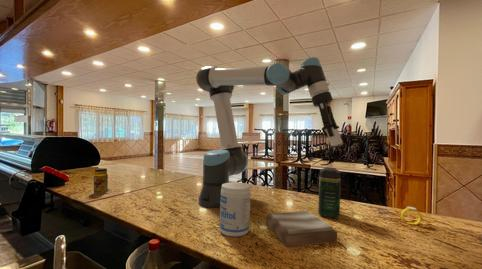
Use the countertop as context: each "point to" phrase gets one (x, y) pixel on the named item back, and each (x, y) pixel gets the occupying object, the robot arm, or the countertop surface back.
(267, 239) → the countertop surface
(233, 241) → the countertop surface
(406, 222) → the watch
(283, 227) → the plinth
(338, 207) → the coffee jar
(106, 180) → the condiment
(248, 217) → the supplement tub
